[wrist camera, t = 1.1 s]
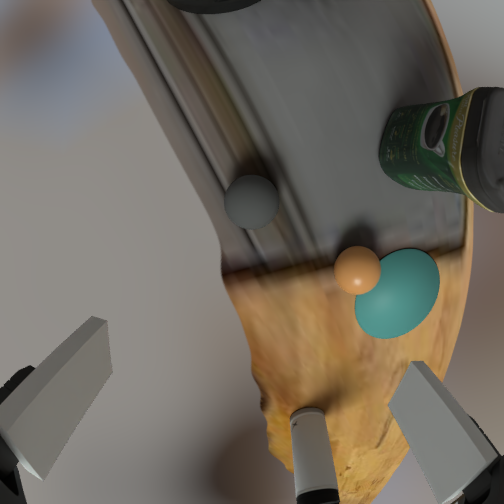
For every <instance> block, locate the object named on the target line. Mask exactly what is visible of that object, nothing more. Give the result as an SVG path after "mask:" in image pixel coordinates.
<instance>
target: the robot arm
mask: <svg viewBox="0 0 504 504" xmlns="http://www.w3.org/2000/svg"><path fill="white" fill-rule="evenodd" d="M167 1H168V2H169V3H170V4H171V5H173V6H174V7H176V8H178V9H180V10H183V11H186V12H191V13H197V14H218V13H226V12H231V11H235V10H239V9H242V8H245V7H248V6H251V5H253V4H255V3H257V2H259V1H261V0H167ZM112 372H113V371H112V365H111V357H110V347H109V337H108V325H107V320H103V319H100V318H97V317H93V316H91V317H90V318H89V319H88V320H87V321H86V322H85V323H83V325H81V326H80V327H79V328H78V329H77V330H76V331H75V332H74V333H72V334H71V335H70V336H69V337H68V338H67V339H66V340H65V341H64V342H63V343H62V344H61V345H59V346H58V347H57V348H56V349H55V350H54V351H53V352H52V353H51V354H50V355H49V356H48V357H47V358H46V359H45V360H44V361H43V362H42V363H41V364H40V365H39V366H38V367H37V368H34V367H32V366H31V365H30V366H27V367H25V368H23V369H21V370H19V371H18V372H16V373H15V374H14V375H13V376H12V377H11V378H10V381H9V380H8V381H7V382H6V383H5V384H4V387H1V388H0V504H27V502H26V499H25V495H24V491H23V488H22V484H21V479H20V475H19V471H18V468H17V466H16V465H17V463H18V462H20V463H21V464H22V465H23V467H24V468H25V469H26V470H27V471H29V472H30V473H32V474H33V475H35V476H36V477H38V478H39V479H41V480H42V481H44V480H45V478H46V477H47V475H48V473H49V471H50V470H51V468H52V466H53V464H54V463H55V461H56V460H57V458H58V456H59V454H60V453H61V451H62V450H63V448H64V446H65V444H66V443H67V441H68V440H69V438H70V436H71V435H72V433H73V432H74V430H75V429H76V427H77V425H78V424H79V422H80V421H81V419H82V418H83V416H84V414H85V413H86V411H87V410H88V408H89V407H90V405H91V404H92V402H93V401H94V399H95V398H96V396H97V395H98V393H99V391H100V390H101V389H102V387H103V386H104V384H105V383H106V381H107V380H108V378H109V377H110V375H111V374H112ZM388 407H389V408H390V410H391V412H392V414H393V416H394V418H395V419H396V421H397V423H398V425H399V427H400V429H401V430H402V432H403V434H404V436H405V438H406V440H407V442H408V444H409V446H410V448H411V449H412V451H413V453H414V455H415V457H416V459H417V461H418V463H419V465H420V467H421V469H422V471H423V473H424V475H425V477H426V479H427V481H428V483H429V485H430V487H431V490H432V491H433V494H434V496H435V498H436V500H437V502H438V504H443V503H445V502H447V501H449V500H451V499H453V497H455V496H456V495H457V494H459V493H460V492H461V491H463V493H464V494H462V495H461V496H460V497H459V498H458V499H457V500H455V501H454V502H453V503H451V504H504V455H503V456H501V455H500V454H499V452H498V451H497V449H496V448H495V447H494V445H493V444H492V443H491V441H490V440H489V439H488V437H487V436H486V434H484V432H483V430H482V429H481V428H479V425H478V424H477V423H476V421H475V420H474V419H473V418H472V417H470V416H469V415H468V414H467V413H466V412H465V411H464V409H463V408H462V407H461V406H460V405H459V403H458V402H457V401H456V400H455V399H454V397H453V396H452V395H451V393H450V392H449V391H448V390H447V389H446V387H445V386H444V385H443V384H442V383H441V381H440V380H439V379H438V378H437V377H436V375H435V374H434V373H433V372H432V371H431V370H430V368H429V367H428V366H427V365H426V364H425V363H424V361H411V363H410V365H409V367H408V369H407V371H406V373H405V375H404V377H403V379H402V381H401V382H400V384H399V386H398V388H397V390H396V392H395V393H394V395H393V397H392V399H391V400H390V402H389V404H388Z"/></svg>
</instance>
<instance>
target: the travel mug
mask: <svg viewBox="0 0 504 504" xmlns="http://www.w3.org/2000/svg"><path fill="white" fill-rule="evenodd" d="M290 426H291V438H292V450H293V463H294V476H295V489H296V499H297V504H339V502H340V499H339V495H338V494H339V493H338V491H339V490H338V484H337V479H336V473H335V467H334V462H333V457H332V451H331V446H330V441H329V436H328V431H327V426H326V421H325V416H324V412H323V411H322V410H320V409H318V408H304V409H301V410H298V411H296V412H295V413H293V414H292V416H291V417H290Z"/></svg>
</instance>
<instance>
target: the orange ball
mask: <svg viewBox="0 0 504 504" xmlns="http://www.w3.org/2000/svg"><path fill="white" fill-rule="evenodd" d="M334 275H335V279H336V281H337V283H338V285H339V286H340V287H341V288H342V289H343V290H344V291H346V292H348V293H350V294H355V295H360V294H364V293H367V292H369V291H370V290H372V289H373V288H374V287H375V286H376V284H377V283H378V281H379V279H380V275H381V265H380V261H379V259H378V257H377V256H376V254H375V253H374V252H373V251H371V250H370V249H368V248H366V247H363V246H353V247H349V248H347V249H346V250H344V251H343V252H342V253H341V254H340V255H339V256H338V258H337V260H336V262H335V266H334Z"/></svg>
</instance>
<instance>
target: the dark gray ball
mask: <svg viewBox="0 0 504 504" xmlns="http://www.w3.org/2000/svg"><path fill="white" fill-rule="evenodd" d="M224 206H225V210H226V213H227V215H228V217H229V218H230V219H231V221H232V222H233V223H235V224H236V225H237V226H239V227H242V228H245V229H259V228H262V227H264V226H266V225H267V224H269V223H270V222H271V221H272V220H273V219H274V218H275V216H276V214H277V212H278V209H279V196H278V192H277V190H276V188H275V187H274V185H273V184H272V183H271V182H270V181H269V180H267V179H266V178H264V177H261V176H258V175H245V176H242V177H240V178H238V179H236V180H235V181H234V182H233V183H232V184H231V185H230V186H229V187H228V189H227V191H226V194H225V198H224Z"/></svg>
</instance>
